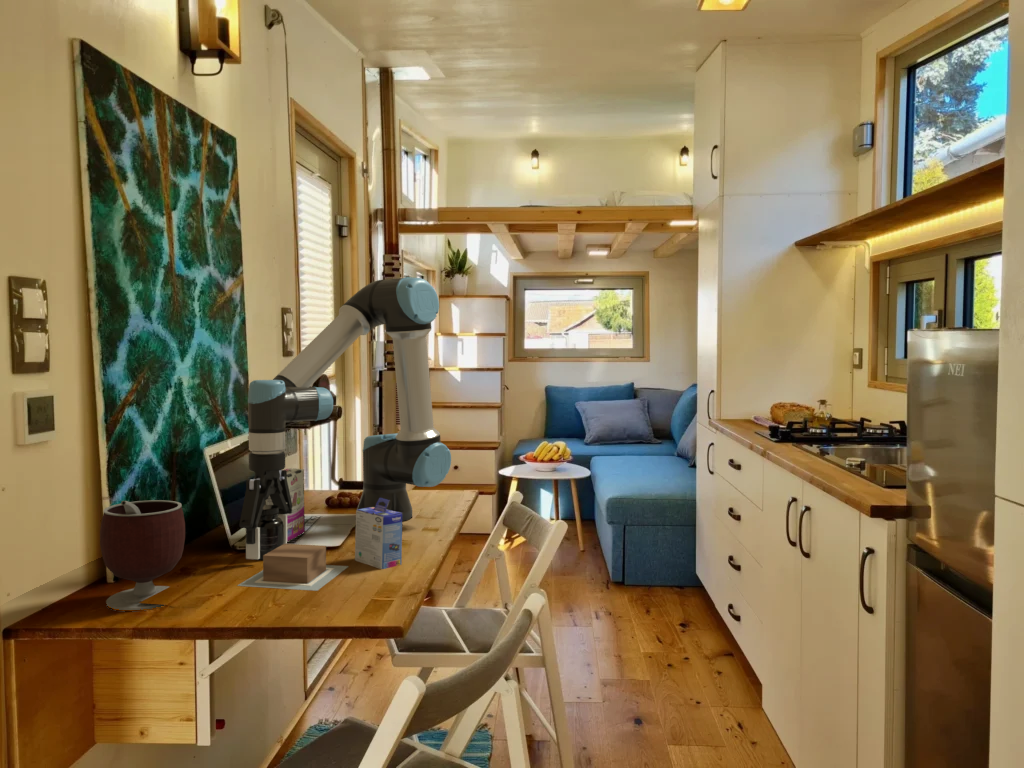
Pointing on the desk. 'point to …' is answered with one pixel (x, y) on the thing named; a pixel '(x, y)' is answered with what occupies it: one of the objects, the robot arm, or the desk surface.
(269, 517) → the supplement bottle
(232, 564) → the desk surface
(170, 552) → the mate gourd
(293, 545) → the walnut block
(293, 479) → the candy bar box
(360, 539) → the ink cartridge box
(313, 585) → the grey square plate
